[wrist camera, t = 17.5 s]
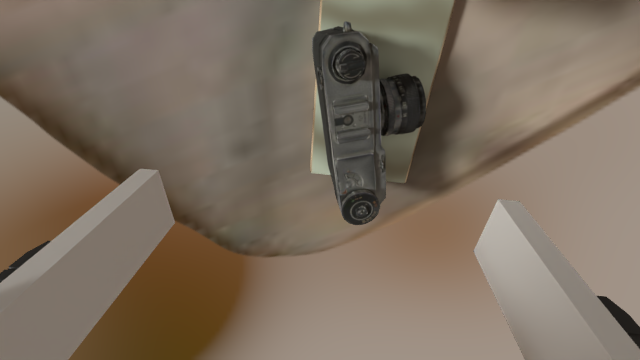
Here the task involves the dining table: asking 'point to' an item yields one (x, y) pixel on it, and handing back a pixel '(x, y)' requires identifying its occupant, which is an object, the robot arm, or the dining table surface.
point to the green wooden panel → (389, 61)
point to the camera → (360, 117)
